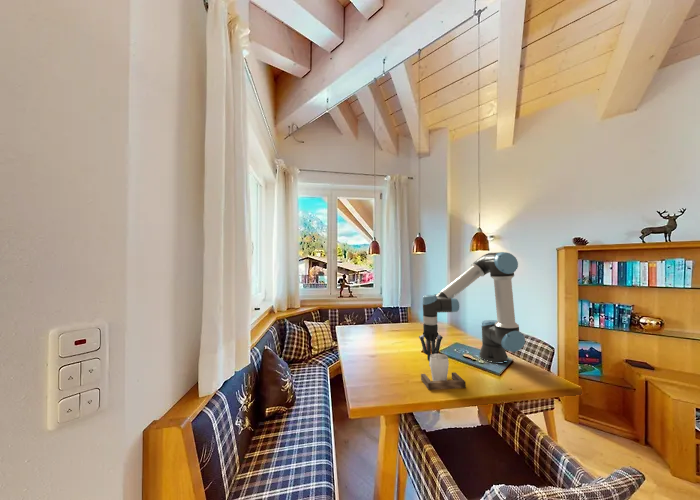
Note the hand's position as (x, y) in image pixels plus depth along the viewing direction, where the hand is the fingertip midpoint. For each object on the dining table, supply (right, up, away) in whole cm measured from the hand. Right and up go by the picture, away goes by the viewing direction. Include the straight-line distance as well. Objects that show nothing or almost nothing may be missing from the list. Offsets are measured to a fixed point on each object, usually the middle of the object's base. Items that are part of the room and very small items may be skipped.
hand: (431, 366), depth 140 cm
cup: (0, -2, -11) cm, 12 cm away
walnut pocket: (+1, -2, -15) cm, 15 cm away
